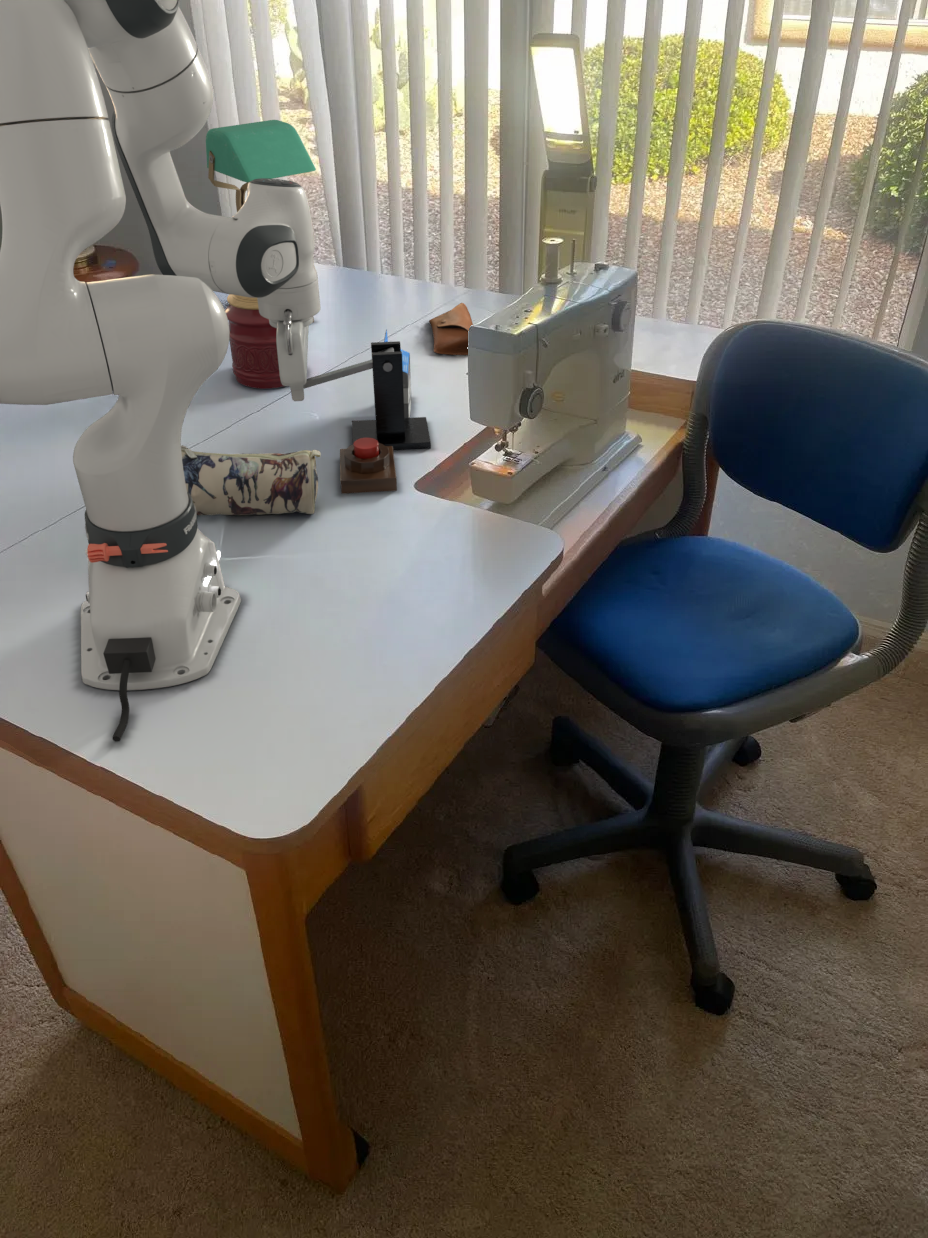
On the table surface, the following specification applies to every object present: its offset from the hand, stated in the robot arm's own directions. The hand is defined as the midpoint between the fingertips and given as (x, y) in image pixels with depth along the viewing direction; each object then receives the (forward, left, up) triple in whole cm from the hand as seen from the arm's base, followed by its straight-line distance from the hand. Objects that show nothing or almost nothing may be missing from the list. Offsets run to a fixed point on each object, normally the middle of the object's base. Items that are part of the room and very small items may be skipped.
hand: (298, 389), depth 147 cm
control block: (-12, -10, -9) cm, 18 cm away
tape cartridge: (+10, -16, -9) cm, 21 cm away
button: (-12, -10, -5) cm, 16 cm away
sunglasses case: (+41, -28, -9) cm, 50 cm away
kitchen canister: (+27, +6, -9) cm, 29 cm away
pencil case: (-20, +8, -9) cm, 23 cm away
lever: (0, -7, +1) cm, 8 cm away
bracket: (0, -13, -9) cm, 16 cm away
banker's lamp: (+58, +8, -9) cm, 59 cm away
